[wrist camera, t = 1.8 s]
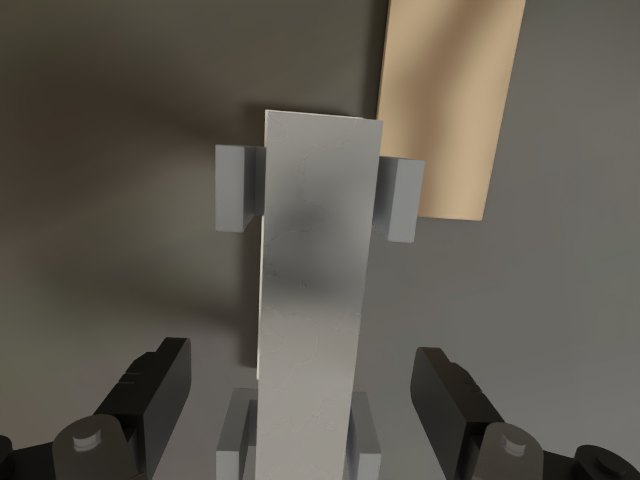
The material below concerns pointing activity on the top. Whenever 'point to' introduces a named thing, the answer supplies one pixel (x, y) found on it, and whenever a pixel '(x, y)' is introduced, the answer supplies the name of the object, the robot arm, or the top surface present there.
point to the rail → (312, 288)
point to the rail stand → (233, 216)
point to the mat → (447, 95)
